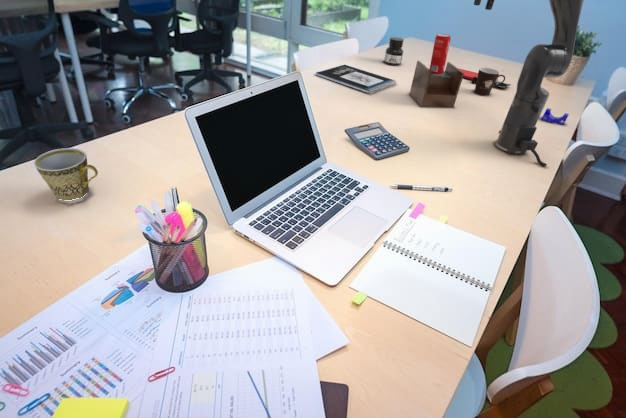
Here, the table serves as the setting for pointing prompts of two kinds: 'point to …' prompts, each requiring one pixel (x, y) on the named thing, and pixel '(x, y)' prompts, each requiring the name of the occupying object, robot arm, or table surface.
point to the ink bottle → (394, 51)
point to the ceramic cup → (66, 173)
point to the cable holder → (551, 118)
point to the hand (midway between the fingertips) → (482, 7)
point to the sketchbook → (356, 78)
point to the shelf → (436, 86)
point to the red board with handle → (474, 76)
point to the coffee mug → (486, 81)
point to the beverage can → (439, 54)
